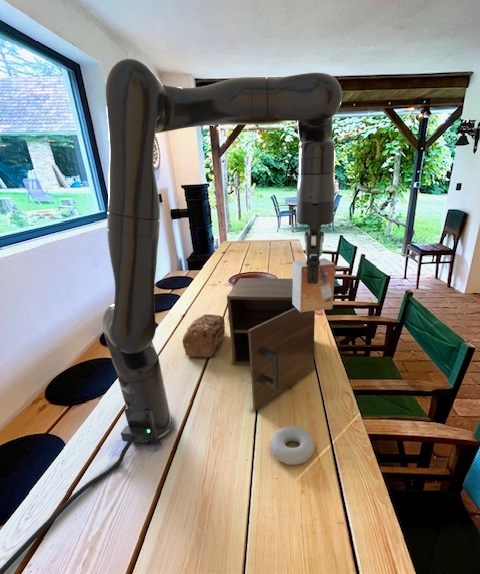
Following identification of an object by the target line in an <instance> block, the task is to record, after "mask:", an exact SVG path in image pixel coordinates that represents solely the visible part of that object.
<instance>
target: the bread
mask: <svg viewBox="0 0 480 574" xmlns="http://www.w3.org/2000/svg"><path fill="white" fill-rule="evenodd" d="M225 325H226V323H225V318H224V317H223V316H222V315H218V314H210V313H209V314H203V315H201V316H200V317H197V318H196V319H194V320H193V322H191V324H190V325H189V326H188V327H187V328H186V332H185V333H184V335H183V338H182V346H183V347H182V348H183V349H184V352H185V355H186V356H188V357H191V358H206V359H209V358H211V357H212V356H214V353H215V352H216V350H217V349H218V347H219V345H220V344H221V343H222V340H223V338H224V336H225V333H226V331H225V330H226V329H225V328H226V326H225Z"/></svg>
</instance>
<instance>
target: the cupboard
mask: <svg viewBox="0 0 480 574" xmlns="http://www.w3.org/2000/svg"><path fill="white" fill-rule="evenodd" d="M292 296H293V278H271V277H270V278H269V277H268V278H260V277H259V278H256V277H253V278H252V277H251V278H249V277H245V278H244V277H240V278H238V280H237V282H236V283H234V285H233V287H232V288H231V290H230V291H229V292H228V293H227V295H226V302H227V313H228V324H229V333H230V335H229V336H230V346H231V356H232V365H246V366H250V352H249V337H248V330H249V329H251V328H253V327H255V326H257V325H260V324H262V323H264V322H266V321H268V320H270V319H272V318H274V317H276V316H278V315H280V314H282V313H284V312H287V311H289V310H291V309H293V308H295V306H294V305H293V304H292Z"/></svg>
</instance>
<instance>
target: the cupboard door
mask: <svg viewBox="0 0 480 574" xmlns="http://www.w3.org/2000/svg"><path fill="white" fill-rule="evenodd" d="M315 323H316V310H315V311H307V312H299V310H298V309H297V308H296V307H295V308H293V309H291V310H289V311H287V312H284V313H282V314H280V315H278V316H276V317H274V318H272V319H270V320H268V321H266V322H264V323H262V324H260V325H257V326H255V327H253V328H251V329H249V330H248V337H249V352H250V365H249V367H250V378H251V379H250V380H251V393H252V396H251V397H252V410H253V411H254V412H256V411H258V410H259V409H260V408H262V407H263V406H265V405H266V404H267V403H269V402H270V401H272V400H273V399H274V398H277V396H279V394H281V393H283V392H284V391H285V390H287V389H288V388H289V387H292V385H293V384H295V383H296V382H298V381H299V380H301V379H302V378H304V376H307V374H309V373H310V372H311V371H313V370H314V361H315V357H314V356H315V327H316V326H315Z"/></svg>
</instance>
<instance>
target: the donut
mask: <svg viewBox="0 0 480 574" xmlns="http://www.w3.org/2000/svg"><path fill="white" fill-rule="evenodd" d="M288 442H295V443H298V444H299V445H298V446H297V447H289V446H287V445H286V444H287V443H288ZM269 444H270V445H269V446H270V451H271V453H272V455H273V456H274V458H275V459H277V460H278V461H279V462H281V463H283V464H285V465H291V466H295V465H301V464H304V463H306V462H307V461H308V460H310V459H311V458H312V456H313V454H314V453H315V450H316V449H315V448H316V442H315V439H314V437H313V435H312V434H311V433H310V432H309V431H308V430H307V429H305V428H303V427H300V426H295V425H289V426H284V427H280V428H279V429H278V430H277V431H275V432H274V433H273V435H272V436H271V439H270V443H269Z"/></svg>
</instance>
